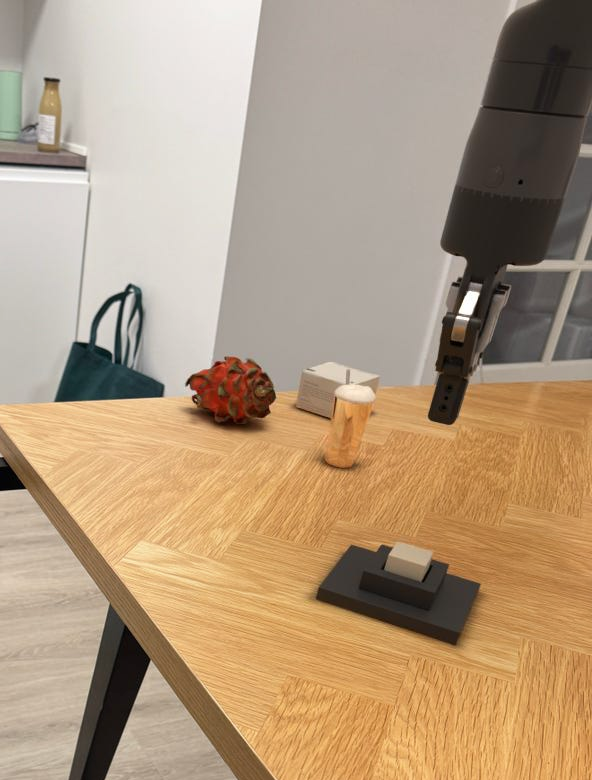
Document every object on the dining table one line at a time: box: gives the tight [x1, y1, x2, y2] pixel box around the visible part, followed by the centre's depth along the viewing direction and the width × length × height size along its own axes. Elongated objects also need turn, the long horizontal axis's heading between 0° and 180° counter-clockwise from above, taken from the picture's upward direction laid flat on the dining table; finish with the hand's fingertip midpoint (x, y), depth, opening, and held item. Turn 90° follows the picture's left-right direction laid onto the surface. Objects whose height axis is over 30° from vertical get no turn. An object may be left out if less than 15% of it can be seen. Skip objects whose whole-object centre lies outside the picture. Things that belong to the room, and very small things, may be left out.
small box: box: [295, 361, 381, 419], centre depth 119 cm, size 8×8×5 cm
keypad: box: [315, 544, 482, 646], centre depth 78 cm, size 12×10×3 cm
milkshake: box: [324, 369, 377, 469], centre depth 102 cm, size 4×5×10 cm
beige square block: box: [384, 541, 434, 582], centre depth 77 cm, size 3×3×2 cm
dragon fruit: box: [183, 355, 277, 425], centre depth 112 cm, size 8×8×12 cm
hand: (441, 420), depth 73 cm, fingers closed
